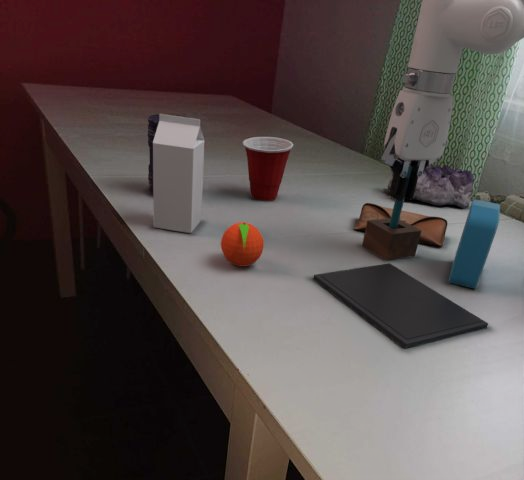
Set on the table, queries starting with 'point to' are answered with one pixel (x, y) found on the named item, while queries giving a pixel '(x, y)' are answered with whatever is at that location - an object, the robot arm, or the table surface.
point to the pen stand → (391, 239)
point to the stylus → (398, 206)
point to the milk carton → (178, 173)
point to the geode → (443, 186)
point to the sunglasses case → (428, 225)
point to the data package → (475, 243)
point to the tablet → (400, 304)
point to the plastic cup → (266, 165)
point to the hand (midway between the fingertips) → (400, 197)
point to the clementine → (242, 244)
